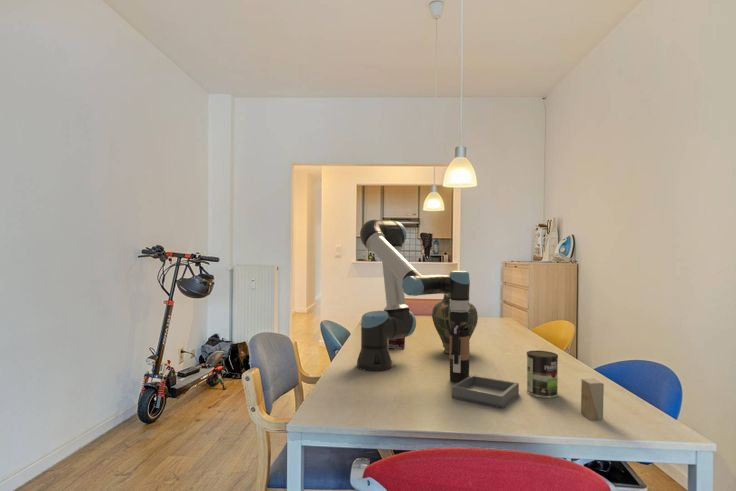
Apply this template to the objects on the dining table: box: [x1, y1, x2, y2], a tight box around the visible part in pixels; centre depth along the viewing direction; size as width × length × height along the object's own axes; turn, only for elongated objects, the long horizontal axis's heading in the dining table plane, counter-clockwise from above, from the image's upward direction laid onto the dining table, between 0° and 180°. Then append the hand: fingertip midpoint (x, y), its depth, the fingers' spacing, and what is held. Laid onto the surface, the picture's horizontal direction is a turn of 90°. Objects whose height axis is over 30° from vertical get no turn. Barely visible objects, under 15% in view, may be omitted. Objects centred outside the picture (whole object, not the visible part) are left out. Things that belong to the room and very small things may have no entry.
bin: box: [451, 374, 520, 410], centre depth 151 cm, size 17×17×4 cm
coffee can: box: [526, 350, 559, 399], centre depth 155 cm, size 10×10×14 cm
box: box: [580, 378, 605, 421], centre depth 133 cm, size 5×4×11 cm
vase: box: [431, 294, 479, 354], centre depth 216 cm, size 22×22×30 cm
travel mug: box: [448, 328, 471, 384], centre depth 170 cm, size 8×8×20 cm
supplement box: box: [388, 337, 406, 350], centre depth 225 cm, size 9×5×16 cm, turn 84°
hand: (459, 369), depth 170 cm, fingers closed on travel mug, 8 cm apart
